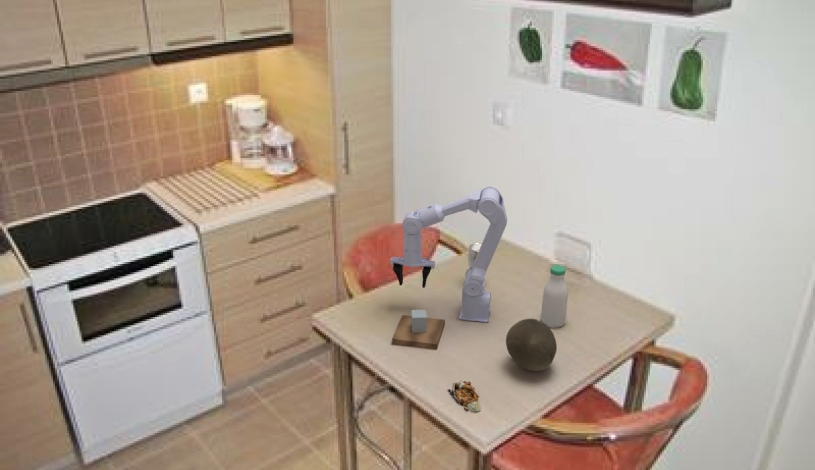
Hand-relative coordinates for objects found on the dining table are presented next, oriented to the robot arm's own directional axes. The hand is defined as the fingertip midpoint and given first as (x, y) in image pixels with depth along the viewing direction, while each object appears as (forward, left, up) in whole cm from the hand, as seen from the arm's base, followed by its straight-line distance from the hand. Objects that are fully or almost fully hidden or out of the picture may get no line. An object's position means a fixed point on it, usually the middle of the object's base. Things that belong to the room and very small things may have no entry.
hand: (412, 285), depth 229 cm
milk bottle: (-46, -2, -10) cm, 47 cm away
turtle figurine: (-24, +42, -10) cm, 50 cm away
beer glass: (-19, -21, -10) cm, 30 cm away
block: (-5, +14, -7) cm, 16 cm away
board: (-5, +14, -9) cm, 18 cm away
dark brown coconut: (-40, +24, -10) cm, 48 cm away
